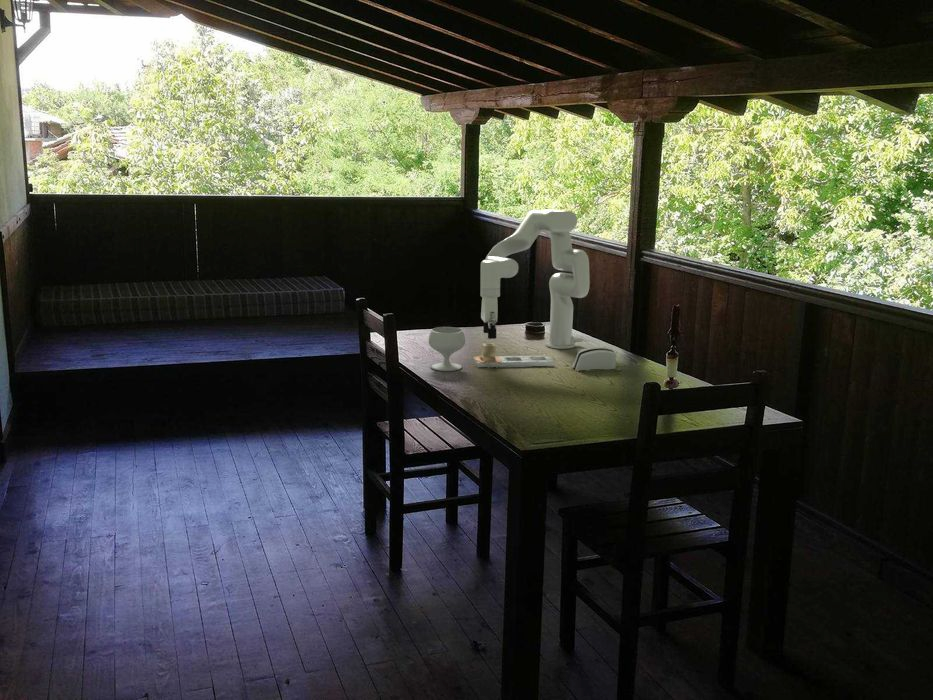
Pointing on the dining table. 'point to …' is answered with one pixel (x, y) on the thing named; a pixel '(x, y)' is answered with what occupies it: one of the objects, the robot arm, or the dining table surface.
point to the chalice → (446, 345)
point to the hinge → (595, 359)
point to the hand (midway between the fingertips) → (489, 335)
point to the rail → (515, 361)
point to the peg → (488, 352)
